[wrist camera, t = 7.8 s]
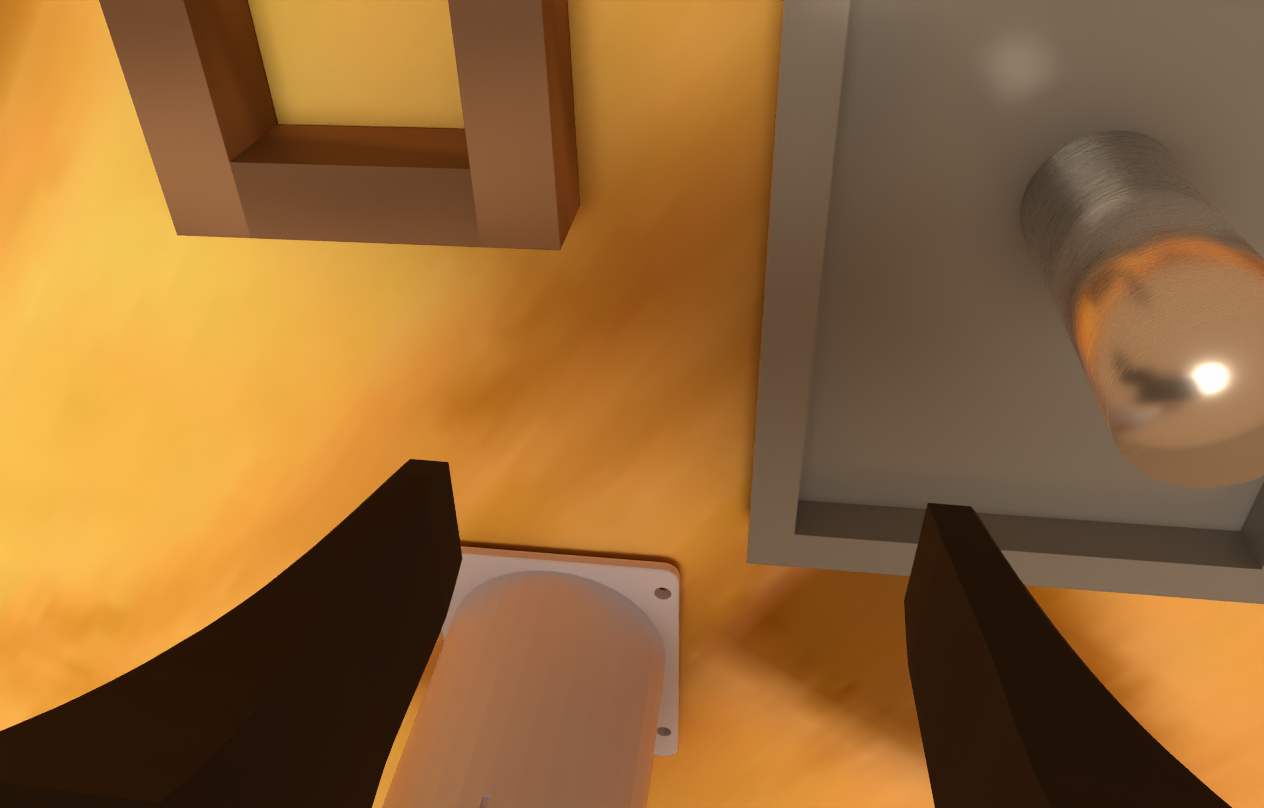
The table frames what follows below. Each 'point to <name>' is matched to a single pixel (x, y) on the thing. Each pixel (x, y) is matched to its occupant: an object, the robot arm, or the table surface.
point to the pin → (1155, 305)
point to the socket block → (356, 134)
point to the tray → (980, 286)
